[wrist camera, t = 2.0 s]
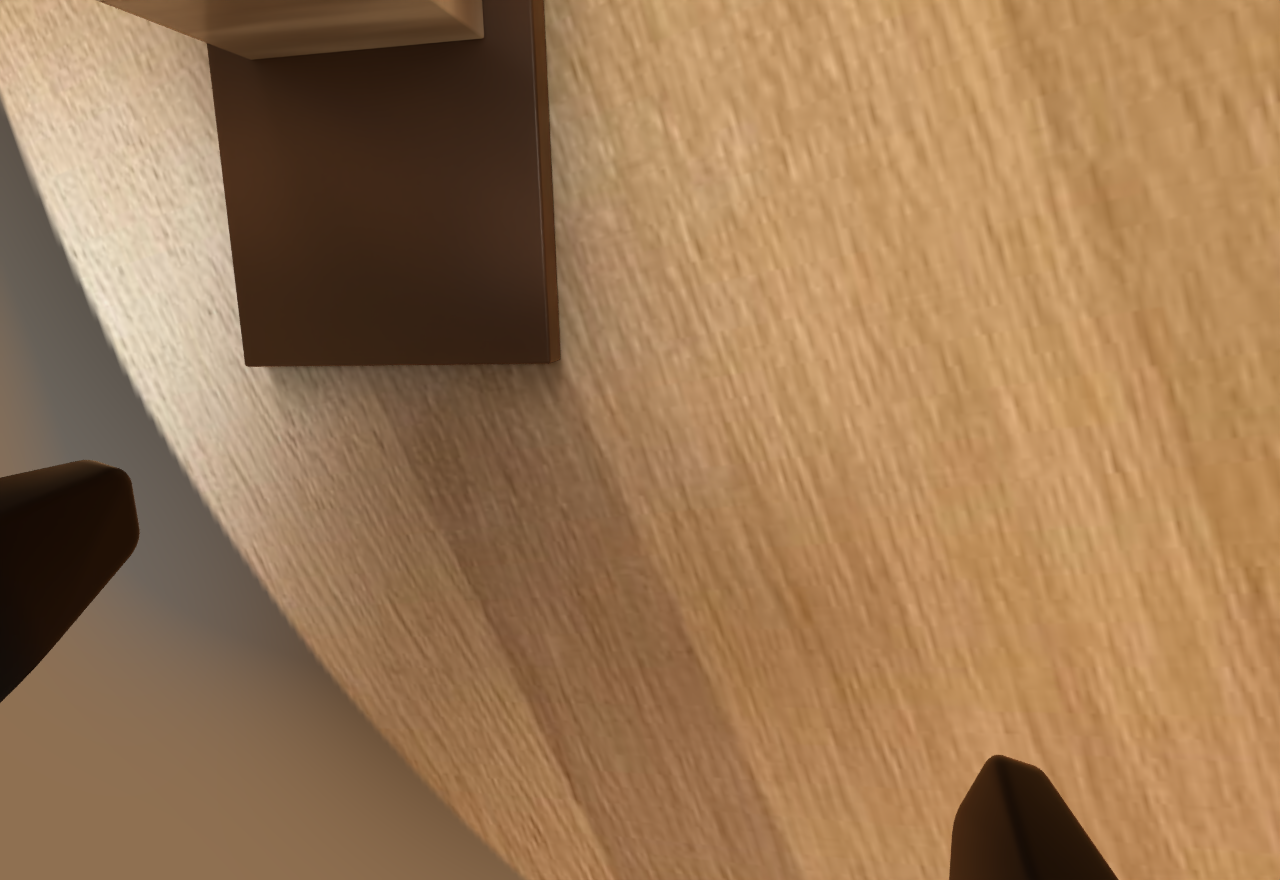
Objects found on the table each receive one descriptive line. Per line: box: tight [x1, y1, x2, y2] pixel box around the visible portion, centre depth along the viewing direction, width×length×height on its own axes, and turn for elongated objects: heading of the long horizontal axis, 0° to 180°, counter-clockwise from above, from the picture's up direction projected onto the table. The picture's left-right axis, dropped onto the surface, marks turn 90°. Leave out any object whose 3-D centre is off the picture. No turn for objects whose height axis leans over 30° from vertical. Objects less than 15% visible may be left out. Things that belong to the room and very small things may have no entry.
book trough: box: [97, 0, 560, 367], centre depth 16 cm, size 15×9×13 cm, turn 2°
